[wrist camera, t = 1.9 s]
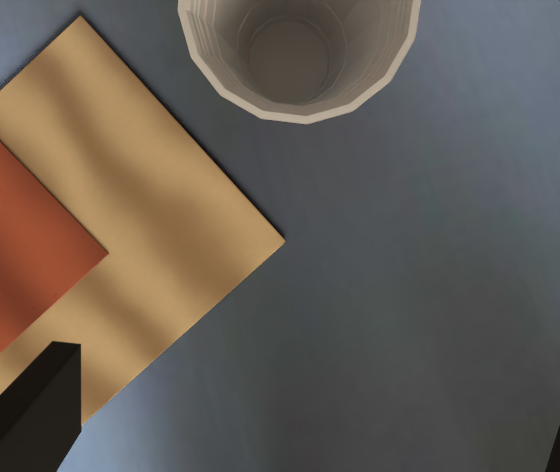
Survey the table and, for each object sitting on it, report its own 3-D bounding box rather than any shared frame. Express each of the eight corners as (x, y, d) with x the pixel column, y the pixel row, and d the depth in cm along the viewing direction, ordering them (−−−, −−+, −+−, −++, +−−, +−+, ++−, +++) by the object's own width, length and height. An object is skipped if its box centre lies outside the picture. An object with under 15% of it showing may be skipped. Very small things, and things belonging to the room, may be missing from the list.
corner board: (82, 17, 33) (79, 13, 32) (285, 240, 35) (286, 241, 34) (-156, 240, 33) (-164, 242, 33) (57, 446, 35) (53, 451, 35)
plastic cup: (197, -16, 33) (162, -132, 21) (359, -26, 33) (417, -145, 21) (211, 150, 34) (186, 131, 22) (368, 139, 34) (427, 114, 22)
